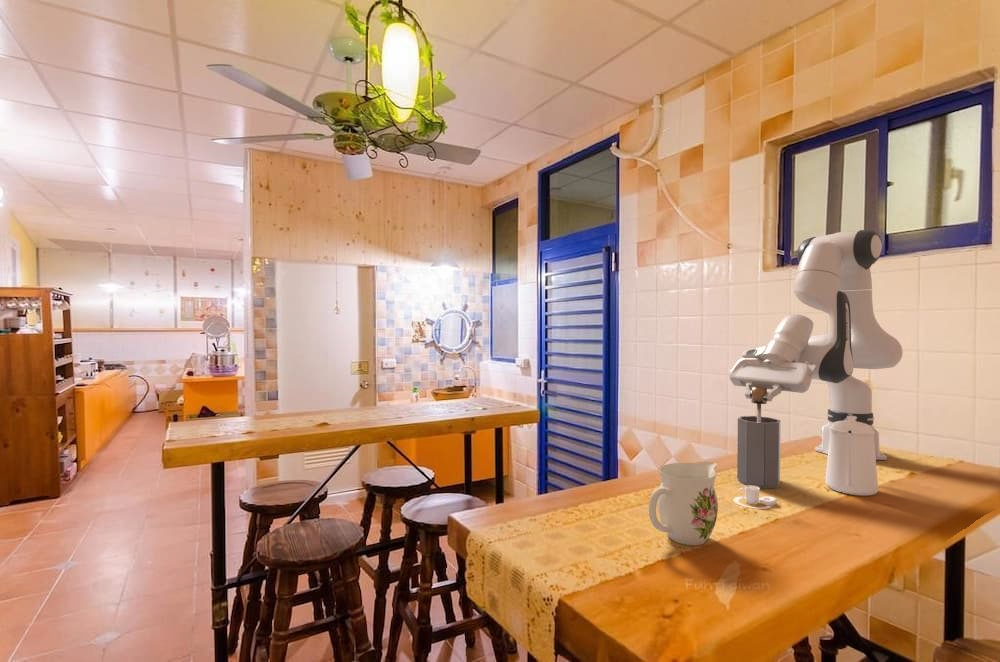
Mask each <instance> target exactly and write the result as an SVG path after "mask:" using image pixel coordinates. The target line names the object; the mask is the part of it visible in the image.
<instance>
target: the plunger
mask: <svg viewBox="0 0 1000 662" xmlns="http://www.w3.org/2000/svg"><path fill="white" fill-rule="evenodd" d="M765 392H768V389H767V388H764V387H752V392H751V399H750V400H751V401H750V402H751V404H756V416H757V422H761V417H762V405H767V403H768V401H765V399H764V398H763V396H764V395H765Z"/></svg>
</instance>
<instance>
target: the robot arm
mask: <svg viewBox="0 0 1000 662" xmlns="http://www.w3.org/2000/svg"><path fill="white" fill-rule="evenodd" d="M882 251H883V243H882V240H881V237H880V235H879V234H878V232H876V231H874V230H870V229H869V230H868V229H860V230H858V231H857V230H856V231H855V230H854V231H852V230H851V231H839V232H835V233H832V234H831V233H830V234H825V235H820V236H813V237H809V238H807V239H805V240H803V241H802V242H801V243H800V244H799V246H798V248H797V252H796V254H797V255H796V257H797V261H798V266H797V269H796V274H795V278H794V284H793V292H794V294H795V297H796V298H797V299H798V300H799V301H800V302H801V303H803V304H804V305H806V306H807V307H810V308H813V309H815V310H818V311H821V312H824V313H826V314H828V315H829V319H830V320H829V322H830V323H829V324H830V326H829V327H830V328H829V329H830V331H829V333H824V334H823V333H822V334H817V335H812V333H813V329H814V322H813V320H812V319H810V318H809V317H807V316H805V315H801V314H788V315H786V316H785V317H783V318H782V319H781V320H780V321H779V322H778V323H777V325H776V327H775V329H774V330H773V332H772V333H771V337H770V340H769V341H768V342H767V343H766V344H765V345H763V346H761V347H760V346H759V347H757V348H751V349H747V350H744V351H743V352H742V354H741V356H742V358H740V359H739V360H737V361H736V362H735V364H734V365H733V367H732V369H730V372H729V374H728V377H729V380H730V381H731V383H732V384H733V386H735V387H737V386H738V387H744V388H746V392H745V393H744V396H745V398H746V399H748V400H751V392H752V387H764V388H767V390H770V391H767V392H765V395H764V396H763V398H764V399H765V401H767V402H770V403H771V402H773V400H774V398H775V397H777V396H779V394H781V393H782V392H790V393H799V394H804V393H807V392H808V390H810V389H809V388H810V386H811V382H812V380H818V381H823V382H826V384H827V387H828V398H829V400H828V401H829V409H827V415H826V416H827V423H825V424H824V425H822V427H821V443H820V444H818V445H817V446H815V447H814V451H815V452H819V453H823V454H825V455H828V449H829V439H830V430H829V429H830V427H831V426H832V424H833V423H834V422H836V421H849V419H848V418H847V416H856V417H857V419H855V421H856V422H862V423H865V424H868V425H869V426H871V428H872V430H873V431H874V432H875V435H874V445H875V457H876V461H878V460H886V461H887V460H888V456H887V455H886V454H885V453H883V452H882V451H881V450H880V432H879V431H878V430H877V429H876V428H875V427H874V420H875V418H874V413H873V412H872V405H873V404H872V403H873V401H872V399H873V396H872V395H873V394H872V393H873V391H872V389H871V387H870V386H869V385H868V384H867V383H866V382H864V381H862V380H861V379H858V378H856V377H854V376H853V375H852V374H853V372H854V369H862V370H863V369H864V370H865V369H867V370H880V369H881V370H882V369H890V368H895V367H896V366H897V365H898V364H899V363H900V361H901V360H902V357H903V353H904V352H903V347H902V345H901V342H899V340H898V339H897V338H896V337H895V336H893V335H891V334H889V333H888V332H887V331H885V329H883V328H882V327H881V325H880V324H879V323H878V321H877V319H876V316H875V313H874V305H873V282H872V275H871V274H872V273H871V267H872V265H874V264H875V263H876V262H877V261H878V260H879V258H881V255H882Z"/></svg>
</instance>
